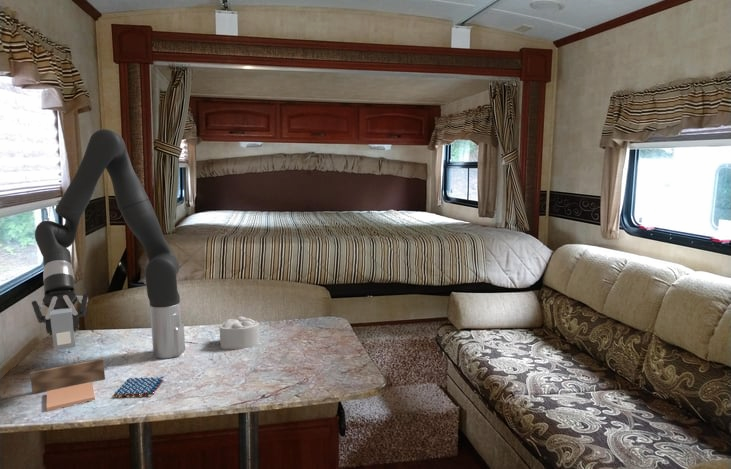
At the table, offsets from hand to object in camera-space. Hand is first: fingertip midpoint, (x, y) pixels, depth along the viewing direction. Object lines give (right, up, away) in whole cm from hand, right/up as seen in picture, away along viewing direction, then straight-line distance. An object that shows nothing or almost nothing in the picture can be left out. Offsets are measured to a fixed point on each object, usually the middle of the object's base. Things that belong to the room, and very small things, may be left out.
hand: (63, 331), depth 137 cm
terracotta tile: (+2, -18, 0) cm, 18 cm away
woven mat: (+18, -18, +5) cm, 26 cm away
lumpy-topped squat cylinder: (+39, -12, +40) cm, 57 cm away
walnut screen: (-3, -17, +8) cm, 19 cm away
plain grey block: (-1, -4, +2) cm, 5 cm away
